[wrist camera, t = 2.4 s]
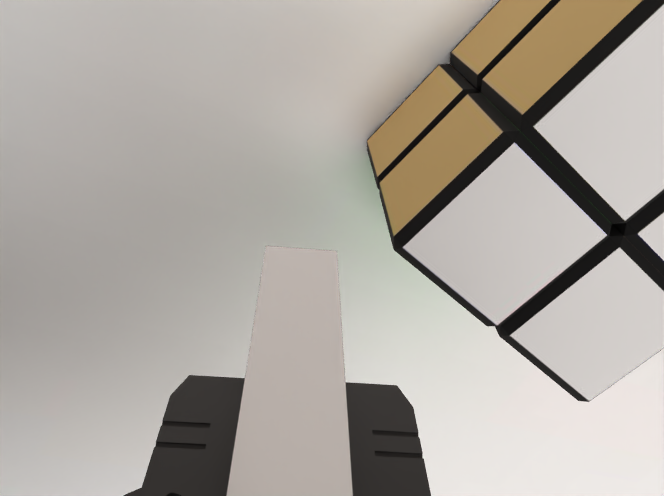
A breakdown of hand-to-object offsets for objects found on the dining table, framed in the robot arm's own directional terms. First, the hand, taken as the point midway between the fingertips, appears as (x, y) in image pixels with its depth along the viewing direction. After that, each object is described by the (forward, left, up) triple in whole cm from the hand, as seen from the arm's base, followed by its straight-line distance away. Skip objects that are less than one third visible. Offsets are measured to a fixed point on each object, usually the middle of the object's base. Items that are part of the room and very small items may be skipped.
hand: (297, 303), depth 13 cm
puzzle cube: (+10, 0, -15) cm, 18 cm away
